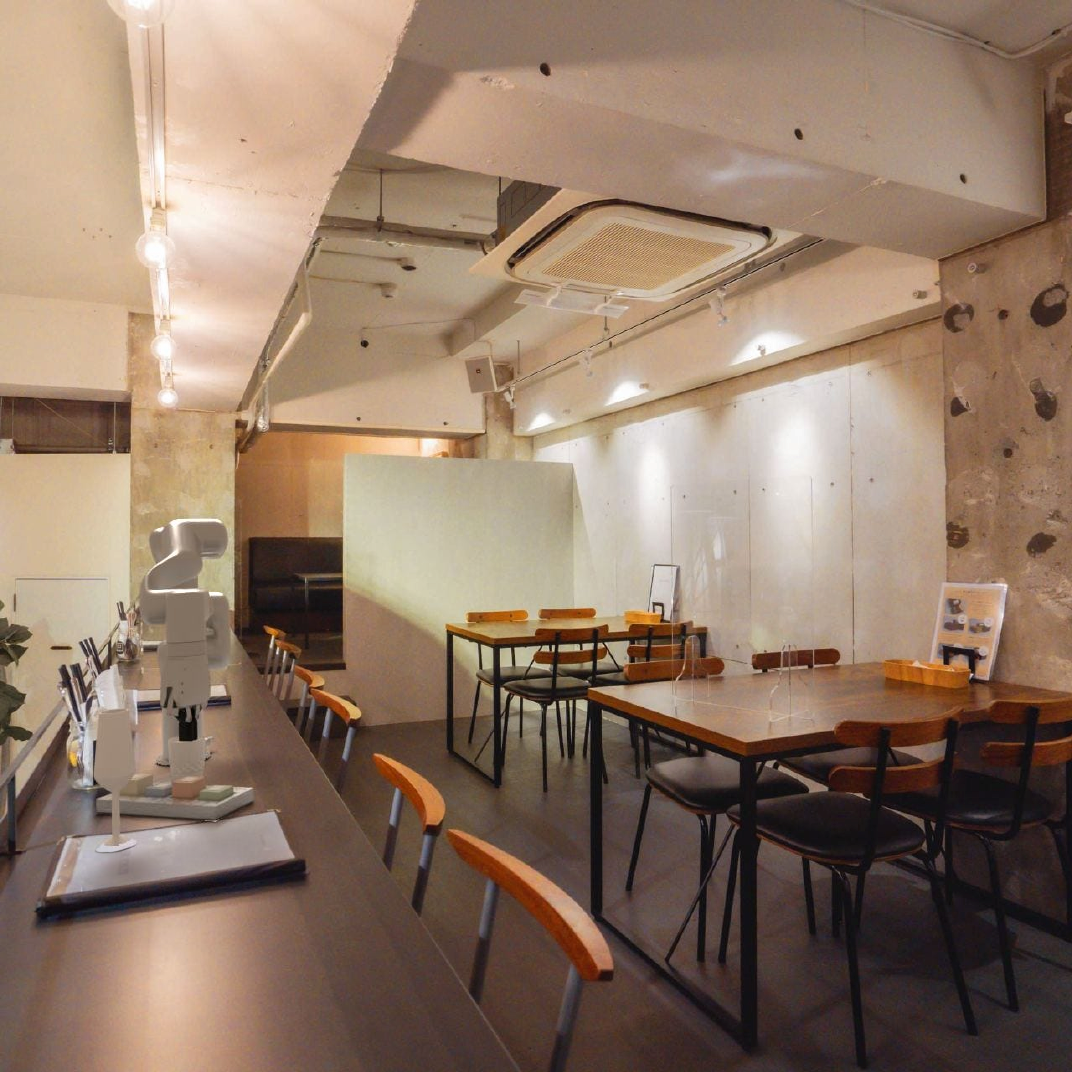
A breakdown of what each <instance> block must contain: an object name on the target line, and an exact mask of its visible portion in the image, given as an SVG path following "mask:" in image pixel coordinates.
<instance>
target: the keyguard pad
mask: <svg viewBox="0 0 1072 1072" xmlns="http://www.w3.org/2000/svg"><path fill="white" fill-rule="evenodd" d="M157 783H158V782H153V785H155V784H157ZM210 786H211V785H207V784H206V788H208V787H210ZM95 803H96V804H95V805H96V815H103V816H112V792H110V793H109V794H105V795H103V796H101V797H98V798H96V801H95ZM253 803H254V788H253V787H241V786H233V795H231V796H229V797H227V798H225V799H223V800H220V801H213V800H200V796H198V797H195V798H193V799H179V798H172V794H171V795H169V796H167V797H164V798H162V797H145V793H143V794H141V795H139V796H129V795H119V814H120V817H130V818H133V817H134V818H135V817H136V818H147V819H148V818H149V819H159V820H160V819H161V820H174V821H175V820H176V821H190V822H191V821H193V822H205V820H218V819H221V818H223V819H225V818H226V817H229V816H231V815H232V814H234V813H236V812H238V811H240V810H242V809H244V808H246V807H247V806H249V805H252V804H253ZM224 817H225V818H224ZM221 820H222V819H221Z"/></svg>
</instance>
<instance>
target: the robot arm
mask: <svg viewBox="0 0 1072 1072" xmlns="http://www.w3.org/2000/svg"><path fill="white" fill-rule="evenodd" d="M148 541H149V549H150V552H151V555H152V558H153V560H154V562H155V565H154V566H152V567H151V568H150V569H149V570H148V571H147V572H146V574H145V575H144V576H143V578H142V580H141V583H140V585H139V586H140V588H139V604H138V606H139V614H140V615H139V616H140V618H141V620H142V622H144V623H145V624H146V625H149V626H164V627H165V639H163V640H161V642H159V644H158V646H157V649H156V657H157V662H158V663H157V664H158V668H159V669H158V670H159V674H160V675H159V676H160V686H159V687H160V689H159V690H160V691H159V704H160V707H161V718H162V719H161V722H162V723H161V724H162V728H161V729H162V731H161V732H162V754H160V755H158V756H157V757H156V759H155V762H156V764H157V763H158V765H159V764H161V765H160V766H167V765H170V763H169V750H168V740H169V739H171V738H173V737H177V736H179V741H185V742H191V741H194V740H197V739H198V734H200V735H204V709H205V708H206V707H207V706H208V701H210V698H211V696H212V695H211V693H212V688H211V687H212V685H211V684H212V683H211V682H212V681H211V671H220V670H224V669H226V668H228V666H230V663H231V659H232V639H231V638H232V635H231V631H232V630H231V611H230V603H229V599H228V598H227V595H225V594H224V593H222V592H217V591H208V590H207V589H205V588H199V575H200V574H201V572H202V570H203V565H204V564H203V560H217V559H218V560H219V559H221V558H222V557H223V556H224V554H225V552H226V551H227V547H228V543H229V536H228V530H227V528H226V526H225V524H224V523H223V522H222V521H221V520H219V519H215V518H183V519H182V518H181V519H174V520H172V521H169V522H167V523H166V524H164V526H163V527H159V528H155V529H154V530H152V531H151V532H150V533H149V537H148ZM207 630H210V631H211V632H212V633H208V634H207ZM213 743H215V737H214V736H212V735H210V736H208V737H205V760H207V759H209V758H210V757H211V751H210V750H208V749H206V747H207V746H209V745H211V744H213ZM206 758H207V759H206Z"/></svg>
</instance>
